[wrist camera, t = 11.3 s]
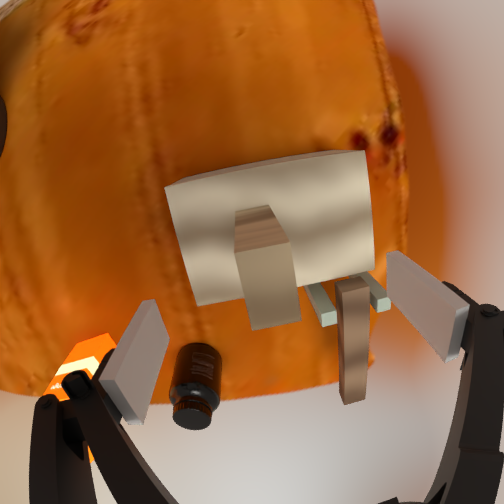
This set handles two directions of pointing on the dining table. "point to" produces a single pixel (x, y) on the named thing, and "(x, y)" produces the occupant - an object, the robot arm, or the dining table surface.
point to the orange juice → (81, 364)
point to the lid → (274, 231)
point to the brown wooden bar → (353, 337)
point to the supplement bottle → (196, 386)
